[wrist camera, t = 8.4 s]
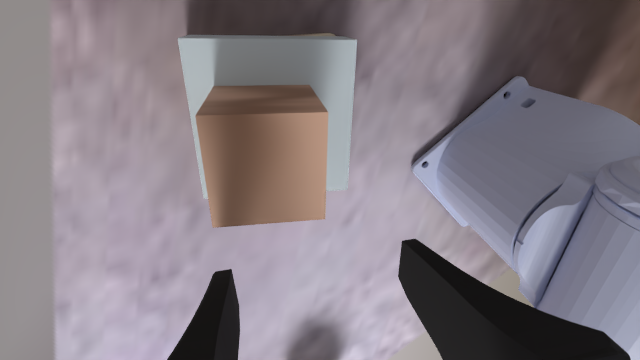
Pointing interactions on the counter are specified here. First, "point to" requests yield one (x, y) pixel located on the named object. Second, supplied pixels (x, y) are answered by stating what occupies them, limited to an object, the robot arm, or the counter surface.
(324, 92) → the tower top
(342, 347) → the counter surface
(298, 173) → the block
